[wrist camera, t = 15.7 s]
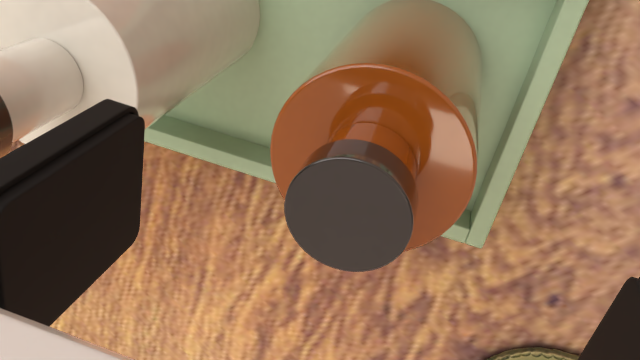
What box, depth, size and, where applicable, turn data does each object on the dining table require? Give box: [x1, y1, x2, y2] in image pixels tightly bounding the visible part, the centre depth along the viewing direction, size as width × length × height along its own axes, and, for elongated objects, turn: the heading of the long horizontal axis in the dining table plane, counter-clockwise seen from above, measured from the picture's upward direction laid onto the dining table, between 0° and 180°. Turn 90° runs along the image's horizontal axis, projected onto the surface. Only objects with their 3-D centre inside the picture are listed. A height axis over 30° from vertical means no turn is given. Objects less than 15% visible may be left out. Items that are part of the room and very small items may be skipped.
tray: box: [144, 0, 589, 248], centre depth 22 cm, size 24×11×2 cm, turn 80°
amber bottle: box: [270, 0, 483, 272], centre depth 17 cm, size 5×5×11 cm
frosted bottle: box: [0, 0, 260, 158], centre depth 17 cm, size 5×5×13 cm
